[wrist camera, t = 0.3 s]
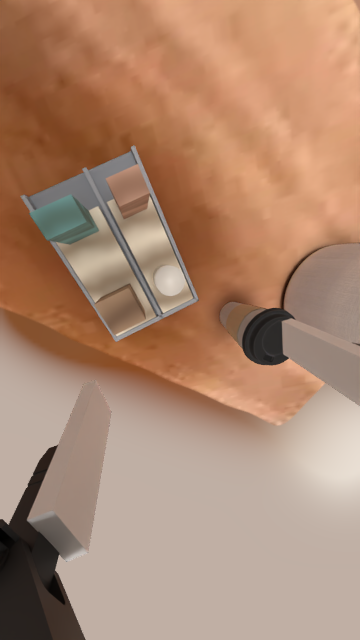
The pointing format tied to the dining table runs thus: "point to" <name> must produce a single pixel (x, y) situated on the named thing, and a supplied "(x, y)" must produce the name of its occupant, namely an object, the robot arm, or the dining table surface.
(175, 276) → the stoneware cylinder
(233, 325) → the coffee cup
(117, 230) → the lane board
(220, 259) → the dining table surface
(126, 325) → the walnut cube
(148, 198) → the strip
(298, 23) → the dining table surface
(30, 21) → the dining table surface
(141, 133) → the dining table surface
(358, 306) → the planter
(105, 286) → the strip
